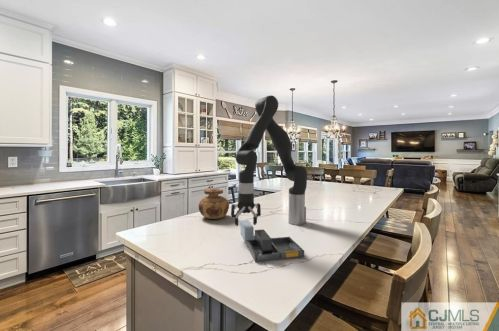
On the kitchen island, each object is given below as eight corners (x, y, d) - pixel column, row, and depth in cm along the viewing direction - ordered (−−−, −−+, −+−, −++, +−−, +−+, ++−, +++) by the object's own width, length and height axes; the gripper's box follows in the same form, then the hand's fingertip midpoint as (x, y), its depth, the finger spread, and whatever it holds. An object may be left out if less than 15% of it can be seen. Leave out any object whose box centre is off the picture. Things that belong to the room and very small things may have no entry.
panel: (248, 233, 125) (248, 220, 125) (253, 242, 113) (253, 227, 113) (240, 234, 124) (240, 220, 124) (245, 242, 113) (245, 228, 112)
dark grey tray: (289, 242, 113) (289, 226, 112) (304, 257, 97) (304, 238, 96) (246, 245, 109) (246, 229, 108) (255, 262, 93) (255, 243, 92)
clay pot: (236, 215, 148) (223, 185, 145) (207, 229, 144) (193, 199, 140) (229, 207, 167) (217, 181, 163) (203, 219, 162) (191, 193, 158)
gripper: (258, 190, 123) (258, 222, 124) (230, 190, 120) (230, 223, 121) (262, 192, 115) (262, 226, 116) (232, 193, 112) (232, 228, 113)
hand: (245, 225), depth 118 cm, fingers open, 8 cm apart
